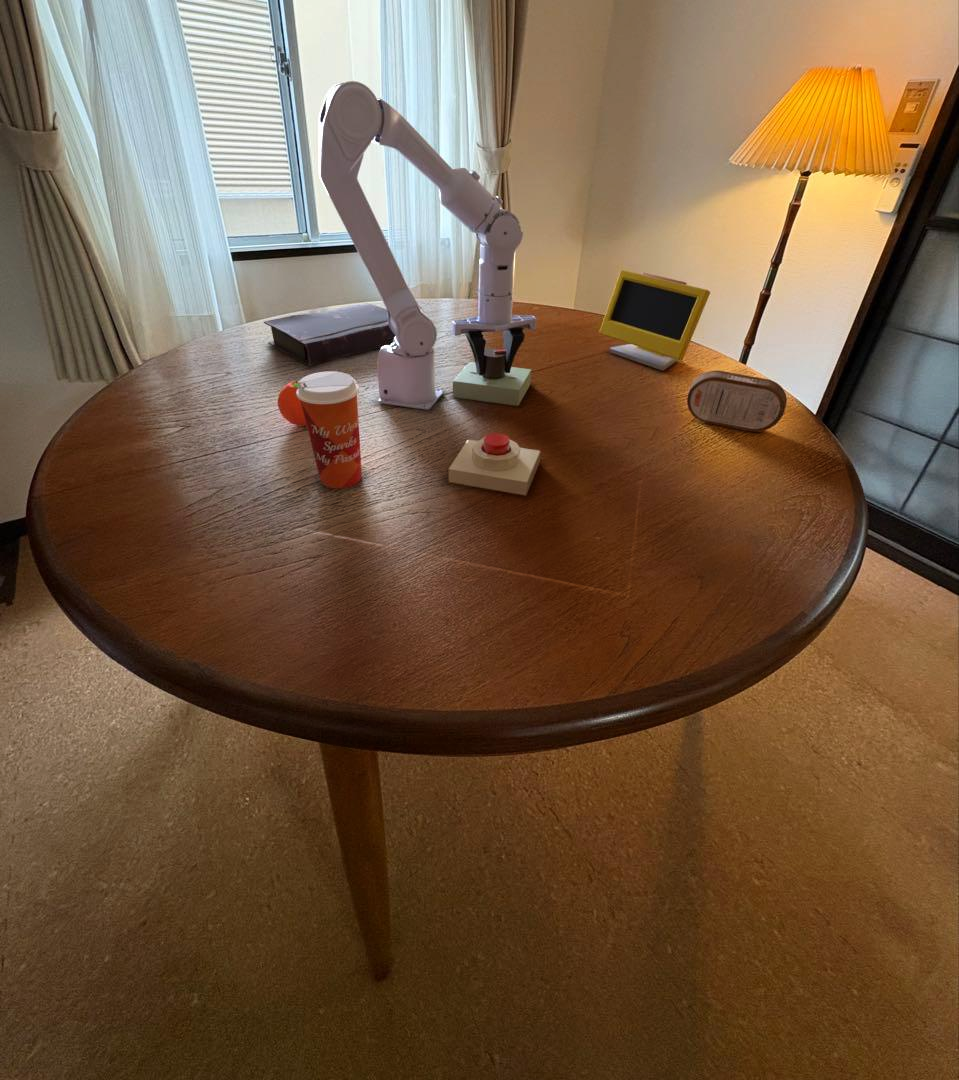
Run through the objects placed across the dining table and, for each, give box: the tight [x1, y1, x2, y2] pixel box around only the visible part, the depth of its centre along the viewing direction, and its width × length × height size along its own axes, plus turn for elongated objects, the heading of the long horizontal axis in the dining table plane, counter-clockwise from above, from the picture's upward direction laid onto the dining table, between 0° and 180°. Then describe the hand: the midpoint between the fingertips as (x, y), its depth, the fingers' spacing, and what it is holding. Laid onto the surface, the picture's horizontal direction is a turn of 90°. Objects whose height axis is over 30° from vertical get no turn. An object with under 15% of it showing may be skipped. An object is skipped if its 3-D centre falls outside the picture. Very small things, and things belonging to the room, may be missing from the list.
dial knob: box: [481, 348, 506, 379], centre depth 100 cm, size 4×4×4 cm
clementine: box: [277, 380, 307, 427], centre depth 88 cm, size 8×7×7 cm
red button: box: [483, 432, 511, 456], centre depth 77 cm, size 4×4×2 cm
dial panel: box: [452, 361, 532, 407], centre depth 102 cm, size 12×10×3 cm
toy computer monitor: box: [598, 269, 711, 372], centre depth 113 cm, size 20×8×16 cm, turn 41°
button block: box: [448, 437, 541, 496], centre depth 79 cm, size 11×9×4 cm
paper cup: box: [296, 370, 362, 489], centre depth 74 cm, size 8×8×14 cm
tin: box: [686, 369, 788, 433], centre depth 91 cm, size 15×3×8 cm, turn 65°
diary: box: [263, 302, 395, 367], centre depth 120 cm, size 19×25×5 cm
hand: (493, 372), depth 101 cm, fingers closed on dial knob, 4 cm apart
